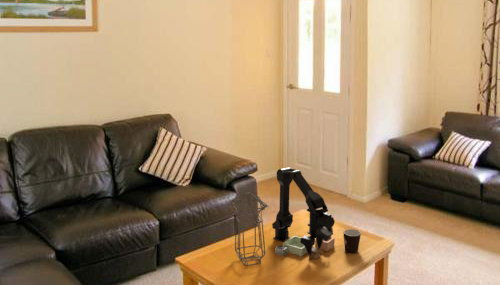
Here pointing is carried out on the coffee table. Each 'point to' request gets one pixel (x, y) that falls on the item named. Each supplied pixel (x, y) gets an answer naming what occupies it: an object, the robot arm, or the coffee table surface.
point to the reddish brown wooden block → (281, 250)
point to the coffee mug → (351, 240)
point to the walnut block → (315, 253)
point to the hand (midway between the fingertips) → (314, 251)
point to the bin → (295, 246)
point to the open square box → (326, 244)
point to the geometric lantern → (249, 223)
